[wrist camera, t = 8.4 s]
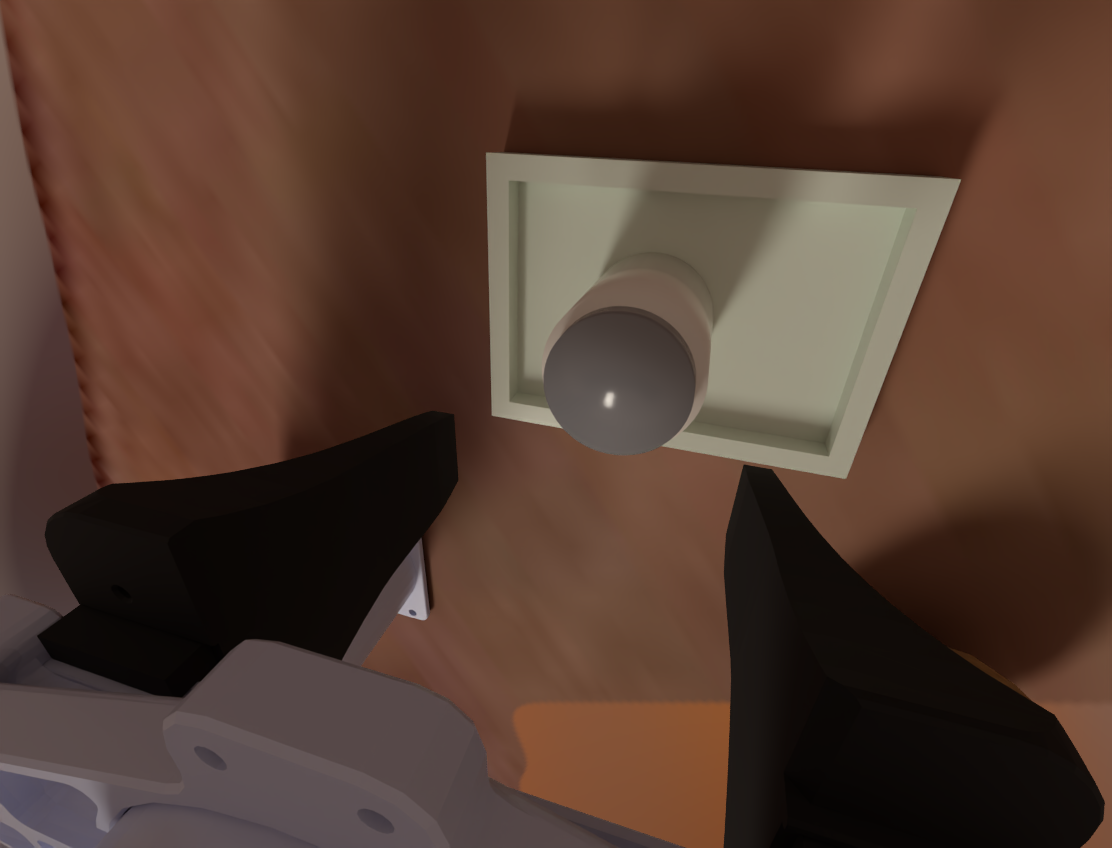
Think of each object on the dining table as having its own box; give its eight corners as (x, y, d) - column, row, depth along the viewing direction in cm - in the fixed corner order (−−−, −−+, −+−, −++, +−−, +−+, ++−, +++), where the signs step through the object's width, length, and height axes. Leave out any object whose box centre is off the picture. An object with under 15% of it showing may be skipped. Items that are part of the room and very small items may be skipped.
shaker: (583, 362, 21) (529, 446, 15) (595, 245, 19) (536, 290, 13) (699, 382, 20) (688, 479, 14) (726, 260, 18) (725, 317, 12)
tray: (505, 399, 23) (491, 415, 22) (503, 152, 19) (485, 152, 17) (838, 456, 20) (845, 479, 19) (940, 176, 15) (961, 179, 14)
